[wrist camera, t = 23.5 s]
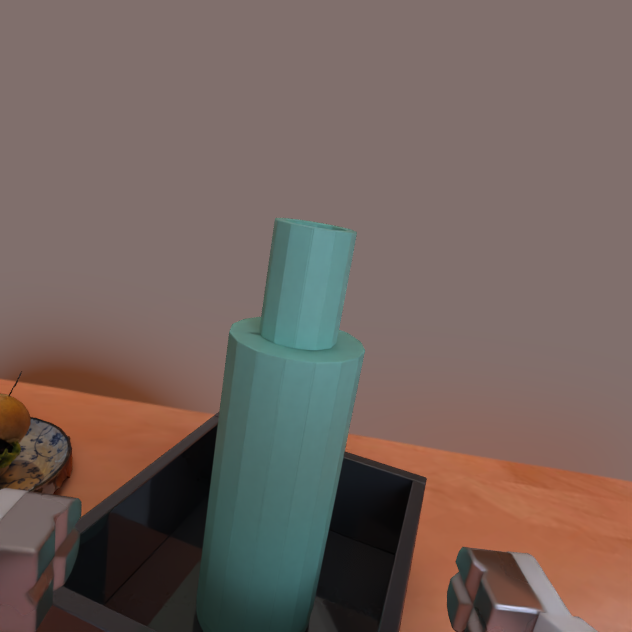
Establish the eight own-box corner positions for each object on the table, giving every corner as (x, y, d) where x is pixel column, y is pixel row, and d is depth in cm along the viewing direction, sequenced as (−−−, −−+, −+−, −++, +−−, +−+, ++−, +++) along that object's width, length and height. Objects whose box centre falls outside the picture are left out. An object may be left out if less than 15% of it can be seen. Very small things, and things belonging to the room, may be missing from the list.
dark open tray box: (338, 899, 16) (375, 763, 14) (1, 703, 20) (0, 578, 18) (405, 560, 31) (427, 477, 30) (209, 488, 35) (219, 410, 33)
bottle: (285, 680, 22) (370, 242, 16) (172, 627, 23) (217, 211, 18) (324, 585, 27) (396, 235, 22) (230, 547, 29) (278, 213, 24)
